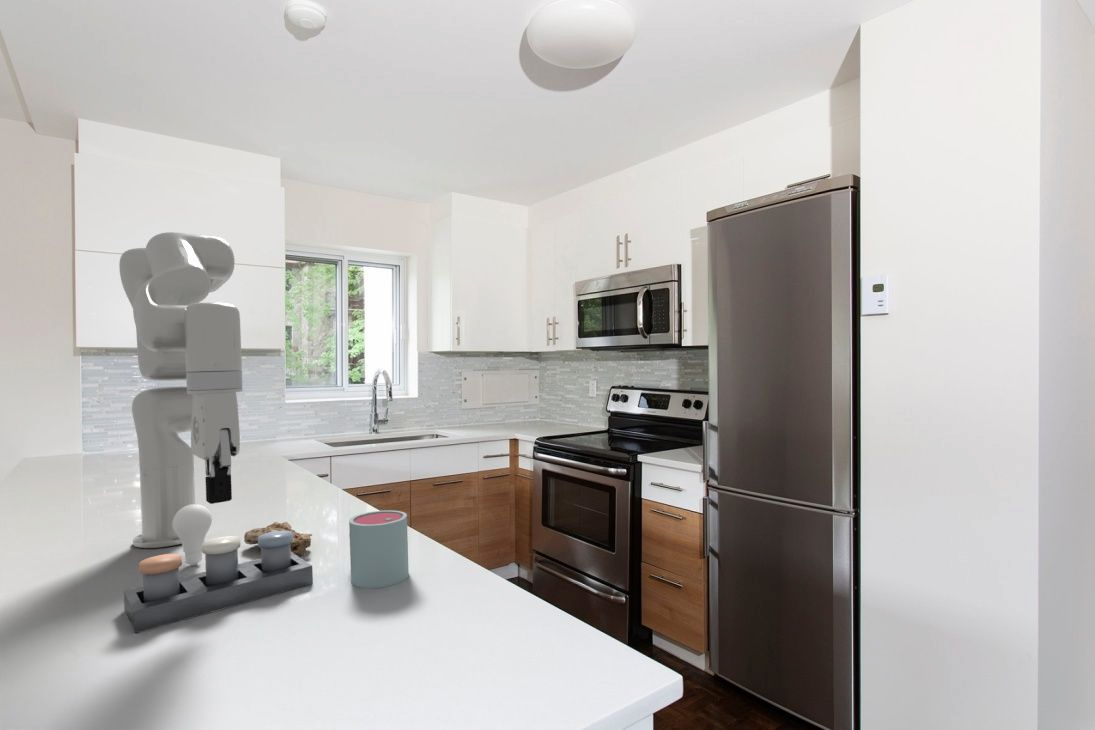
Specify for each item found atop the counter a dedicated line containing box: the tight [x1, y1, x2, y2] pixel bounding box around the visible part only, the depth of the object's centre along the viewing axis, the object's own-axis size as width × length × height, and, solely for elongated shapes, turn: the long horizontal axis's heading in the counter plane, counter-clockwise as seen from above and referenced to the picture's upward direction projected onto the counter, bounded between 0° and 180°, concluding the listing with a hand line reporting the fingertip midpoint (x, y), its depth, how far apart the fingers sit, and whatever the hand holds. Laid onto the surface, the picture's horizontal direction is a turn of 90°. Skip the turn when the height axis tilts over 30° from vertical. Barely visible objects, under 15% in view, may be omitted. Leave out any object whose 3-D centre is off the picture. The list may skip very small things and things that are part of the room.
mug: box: [348, 509, 409, 589], centre depth 100 cm, size 14×9×10 cm
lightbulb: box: [172, 503, 213, 567], centre depth 107 cm, size 6×6×11 cm
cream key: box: [202, 535, 241, 586], centre depth 92 cm, size 5×5×6 cm
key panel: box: [123, 552, 314, 634], centre depth 92 cm, size 10×24×3 cm, turn 132°
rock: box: [243, 521, 313, 557], centre depth 115 cm, size 17×5×10 cm
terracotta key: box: [138, 553, 183, 603], centre depth 86 cm, size 5×5×6 cm
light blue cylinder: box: [257, 531, 293, 573], centre depth 97 cm, size 5×5×6 cm
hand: (219, 501), depth 92 cm, fingers closed
